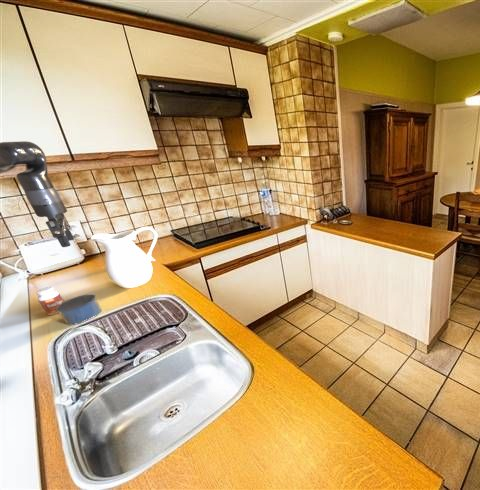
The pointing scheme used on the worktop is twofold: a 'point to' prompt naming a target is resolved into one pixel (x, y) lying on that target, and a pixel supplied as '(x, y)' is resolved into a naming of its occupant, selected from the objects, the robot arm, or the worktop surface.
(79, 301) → the crock
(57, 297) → the pill bottle
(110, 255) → the pitcher
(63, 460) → the worktop surface
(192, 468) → the worktop surface
